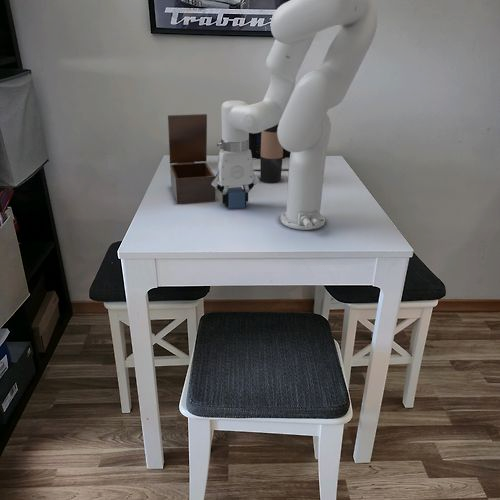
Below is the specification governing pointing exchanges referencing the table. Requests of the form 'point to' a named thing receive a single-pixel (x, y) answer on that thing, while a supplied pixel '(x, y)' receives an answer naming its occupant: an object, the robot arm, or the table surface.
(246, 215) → the table surface
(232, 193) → the block
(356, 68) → the robot arm
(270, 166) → the travel mug
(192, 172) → the box
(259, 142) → the laptop
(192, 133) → the lid
